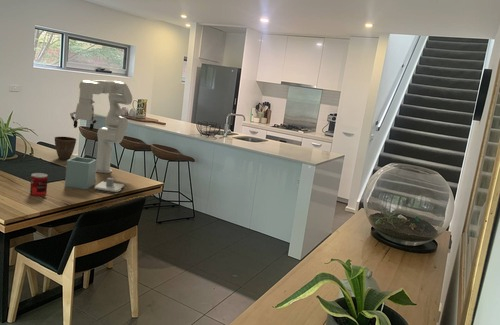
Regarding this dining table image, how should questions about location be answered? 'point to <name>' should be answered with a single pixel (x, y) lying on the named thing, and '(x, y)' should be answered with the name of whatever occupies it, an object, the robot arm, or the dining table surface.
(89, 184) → the tub
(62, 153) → the plant pot
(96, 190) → the mat
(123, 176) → the dining table surface
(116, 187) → the lid
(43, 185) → the canned food
